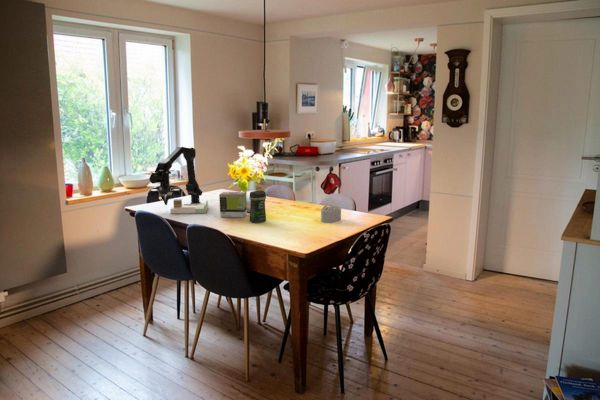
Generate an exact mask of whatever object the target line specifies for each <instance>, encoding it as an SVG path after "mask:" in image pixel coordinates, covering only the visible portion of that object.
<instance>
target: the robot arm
mask: <svg viewBox="0 0 600 400" xmlns="http://www.w3.org/2000/svg"><path fill="white" fill-rule="evenodd" d="M196 154H197V153H196V149H195V147H186V146H179V145H178V146H176V148H175V149H174V150H173V151H172V152H171V153H170V154H169V156H167V157H166V158H163V159H162V160H160V161H159V162H158V163H157V165H156V167H155V169H154V172H151V174H150V176H149V182H150V183H151V184H158V183H159V184H160V185H159V189H150V190H149V195H150V196H155V195H156V194H158V196H159V197H161V199H162V201H163V203H164V205H165V206H167V205H168V203H169V199H170V197H172V195H175V196H176V195H178V196H179V195H181V192H182V191H181V189H180V188H174V189H172V188H171V186H170V174H171V175H172V172H171V171H170V170H171V168H172V167H173V164H174V162H175V161H177V160H178V158H179V157H180V156H181V155H183V158H184V160H185V162H186V163H185V164H186V171H187V178H188V180H187V183H185V191H186V192H187V195H188V196H190V199H191V200H190V203H189V204H202V203H201V201H200V196H202V195H203V191H202V190H201V189H200V186H199V183H198V182H197V180H196V179H197V178H196V172H195V171H196V170H195V158H196Z"/></svg>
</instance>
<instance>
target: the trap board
mask: <svg viewBox="0 0 600 400" xmlns="http://www.w3.org/2000/svg"><path fill="white" fill-rule="evenodd" d="M204 202H205V203H200V204H190V203H182V207H174V204H173V205H172V206H171V208H170V211H169V212H170V215H181V214H182V215H183V214H184V215H190V214H193V215H194V214H206V213H207V211H208V209H209V204H208V203H209V200H206V201H204Z"/></svg>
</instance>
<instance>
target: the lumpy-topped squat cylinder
mask: <svg viewBox="0 0 600 400" xmlns="http://www.w3.org/2000/svg"><path fill="white" fill-rule="evenodd" d="M340 220H342V208H341V207H338V206H336V205H329V206H328V205H324V206H322V208H321V211H320V221H321V223H324V224H333V223H338V222H341V221H340Z"/></svg>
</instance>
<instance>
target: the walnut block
mask: <svg viewBox="0 0 600 400" xmlns="http://www.w3.org/2000/svg"><path fill="white" fill-rule="evenodd" d="M182 204H183V203H182V198H177V199H176V198H174V200H173V205H174V207H182Z"/></svg>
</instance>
